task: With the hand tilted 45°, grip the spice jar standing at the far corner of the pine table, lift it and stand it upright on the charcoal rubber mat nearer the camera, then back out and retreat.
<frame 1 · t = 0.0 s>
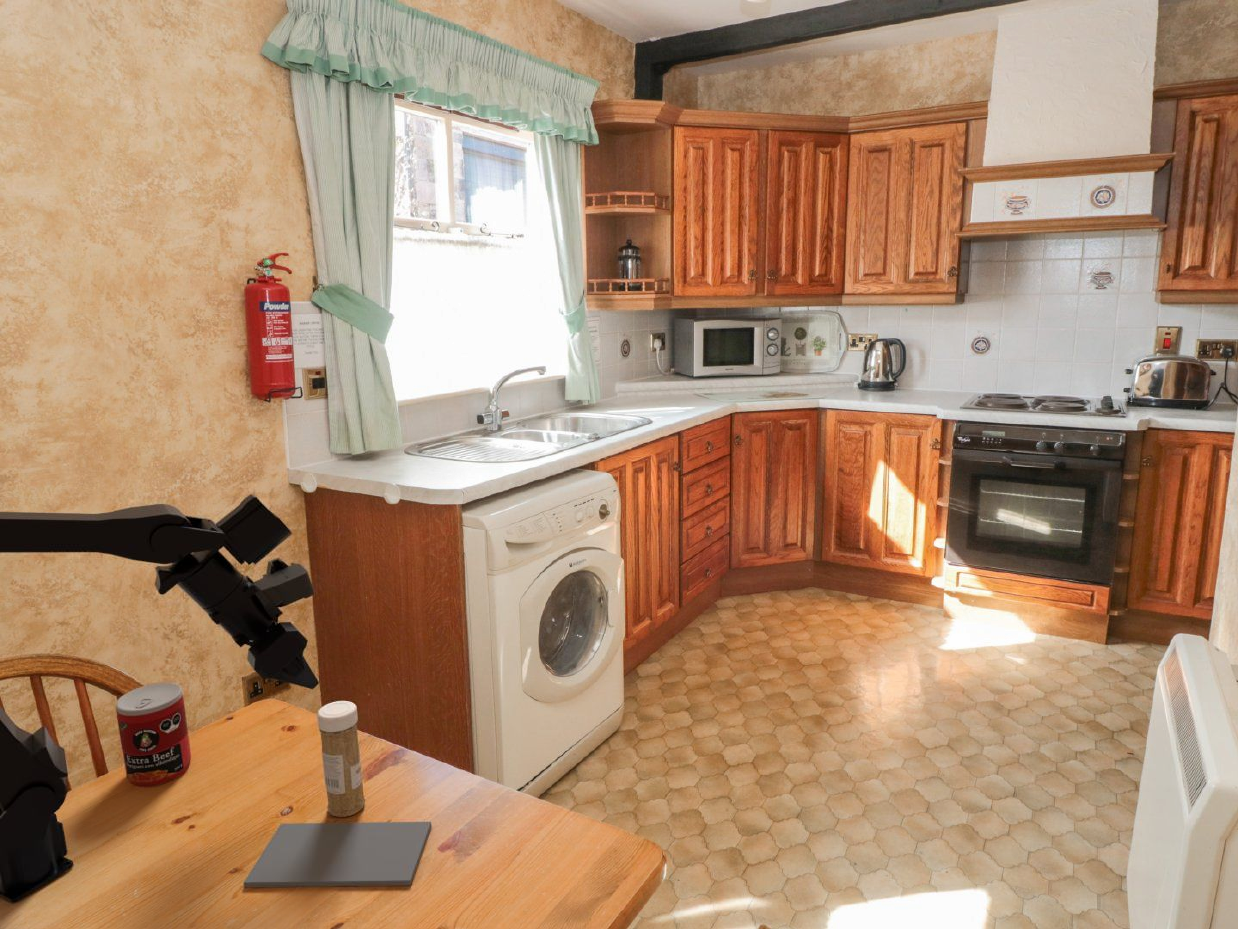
hand: (305, 672, 106), 15 cm above the table, tool tilted 35°, fingers open, 9 cm apart
canned food: (160, 772, 111), on the table
charcoal mat: (342, 855, 94), on the table
spice jar: (346, 809, 103), on the table
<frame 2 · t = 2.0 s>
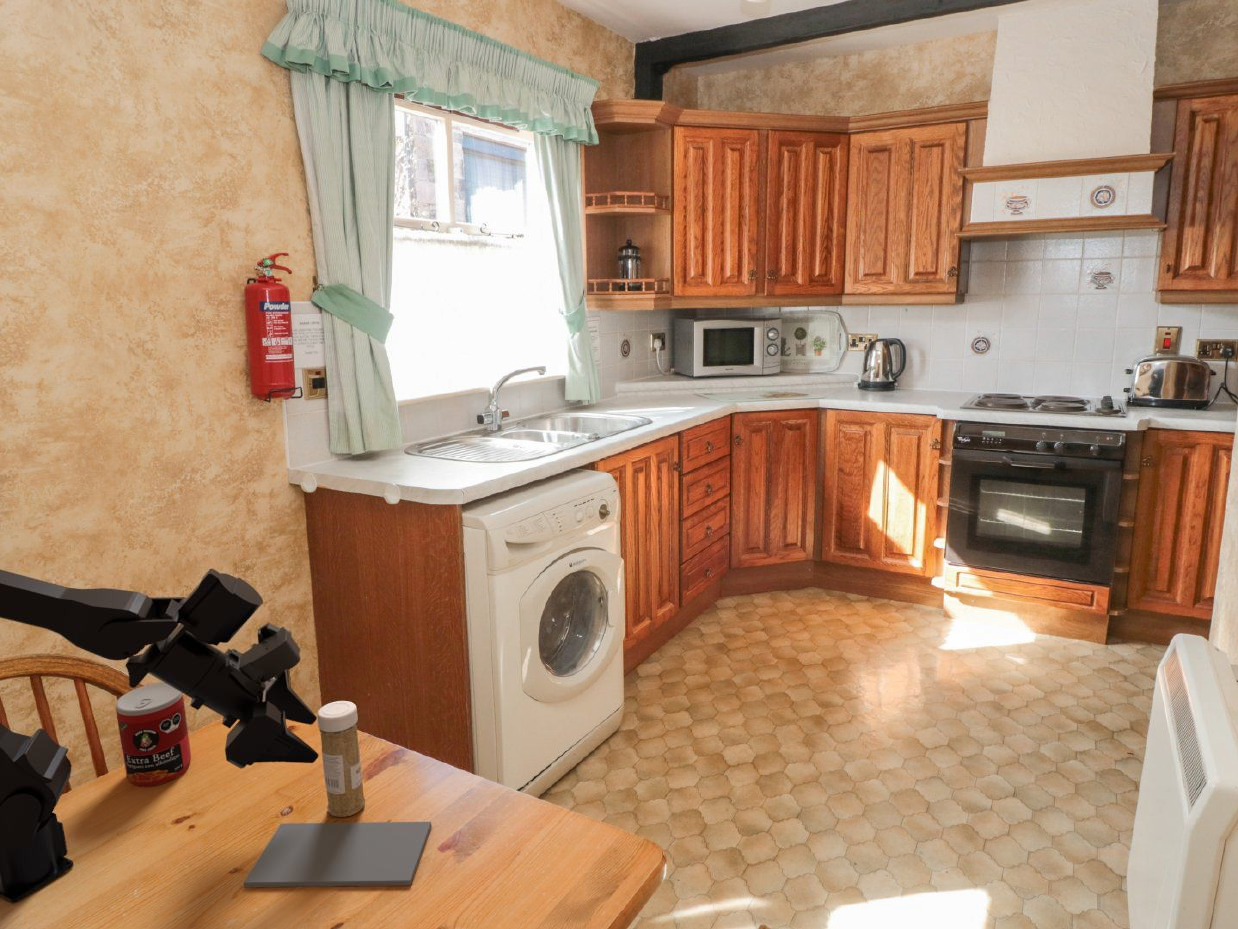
hand: (315, 739, 100), 10 cm above the table, tool tilted 45°, fingers open, 9 cm apart
nothing on the table moved.
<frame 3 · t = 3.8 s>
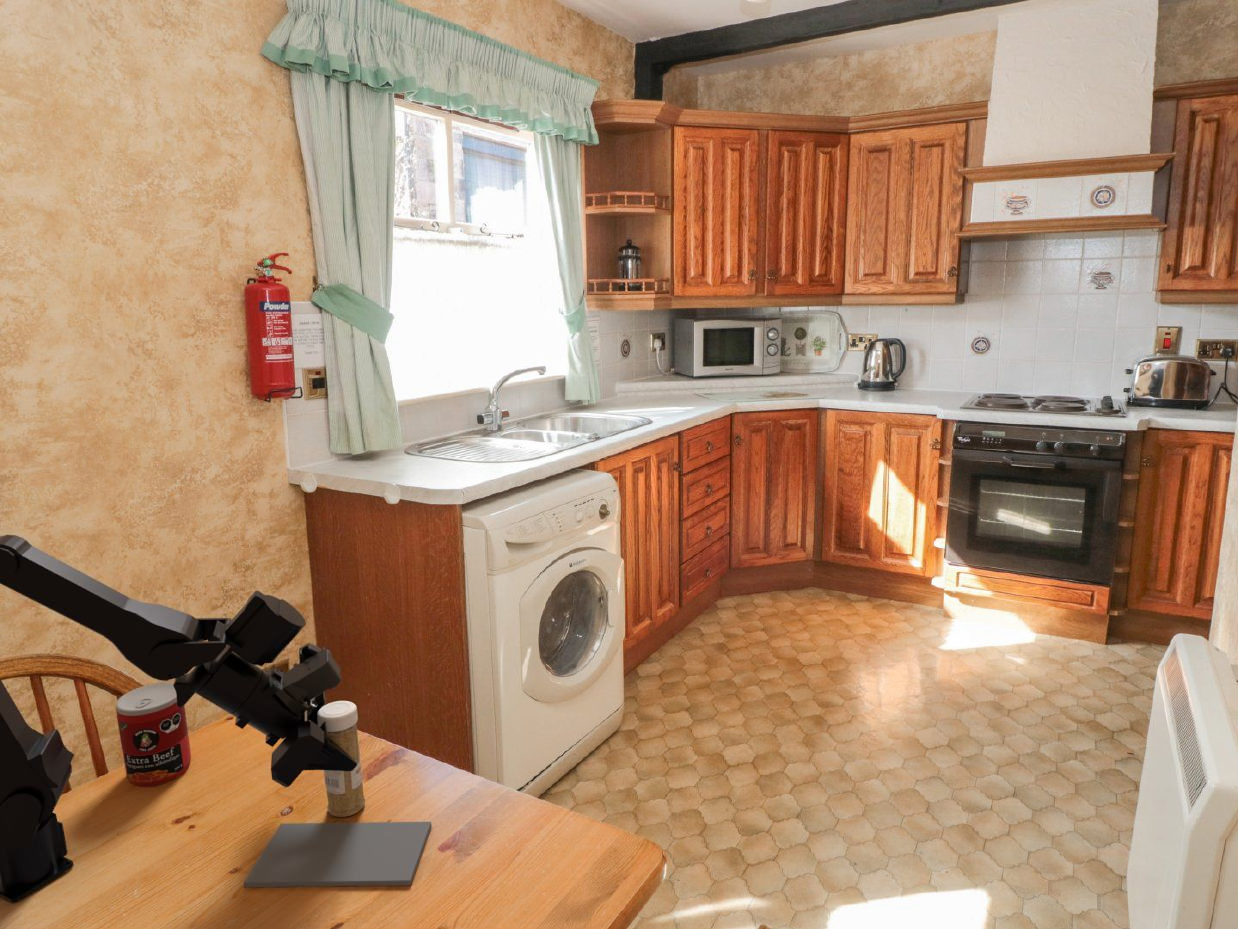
hand: (353, 757, 102), 7 cm above the table, tool tilted 45°, fingers closed on spice jar, 4 cm apart
spice jar: (346, 809, 103), on the table, touching gripper
everything else where it was.
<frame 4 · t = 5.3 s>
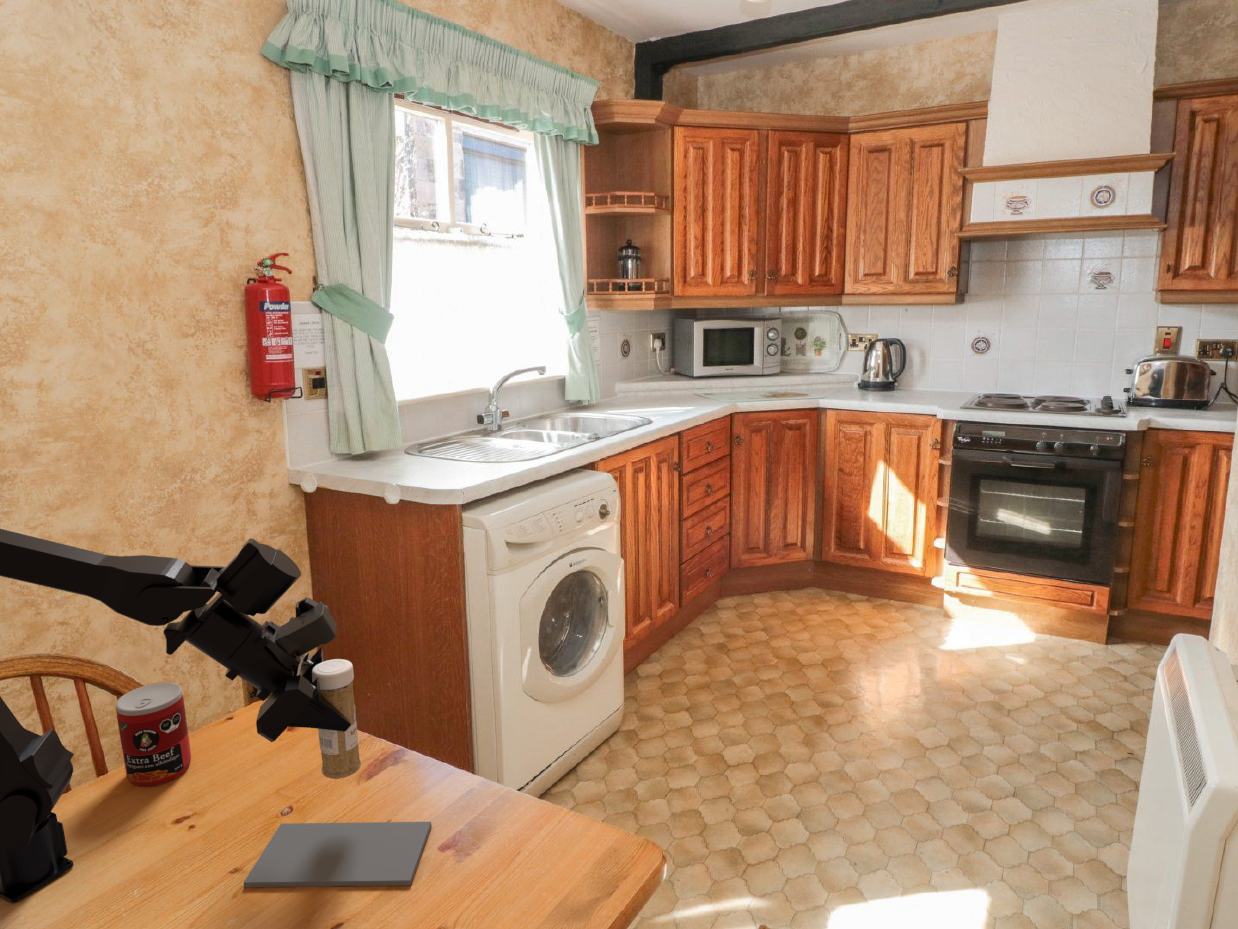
hand: (349, 718, 98), 13 cm above the table, tool tilted 45°, fingers closed on spice jar, 4 cm apart
spice jar: (341, 771, 99), point 6 cm above the table, touching gripper
everything else where it was.
when the fingers open (8 cm above the table, at t = 7.3 s): spice jar drops 1 cm, resting on charcoal mat.
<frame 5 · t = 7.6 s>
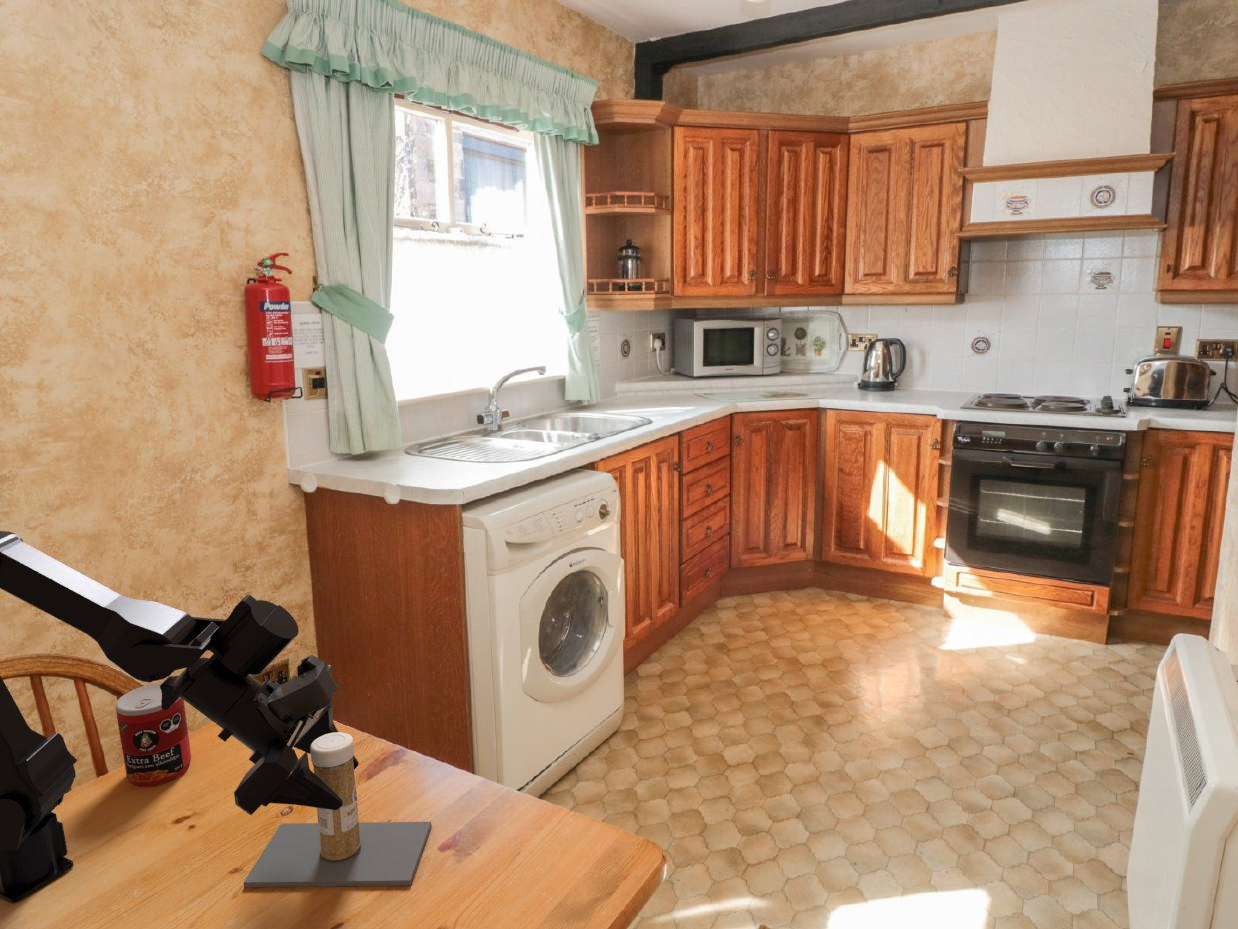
hand: (348, 786, 92), 9 cm above the table, tool tilted 45°, fingers open, 7 cm apart
spice jar: (341, 851, 94), resting on charcoal mat
everything else where it was.
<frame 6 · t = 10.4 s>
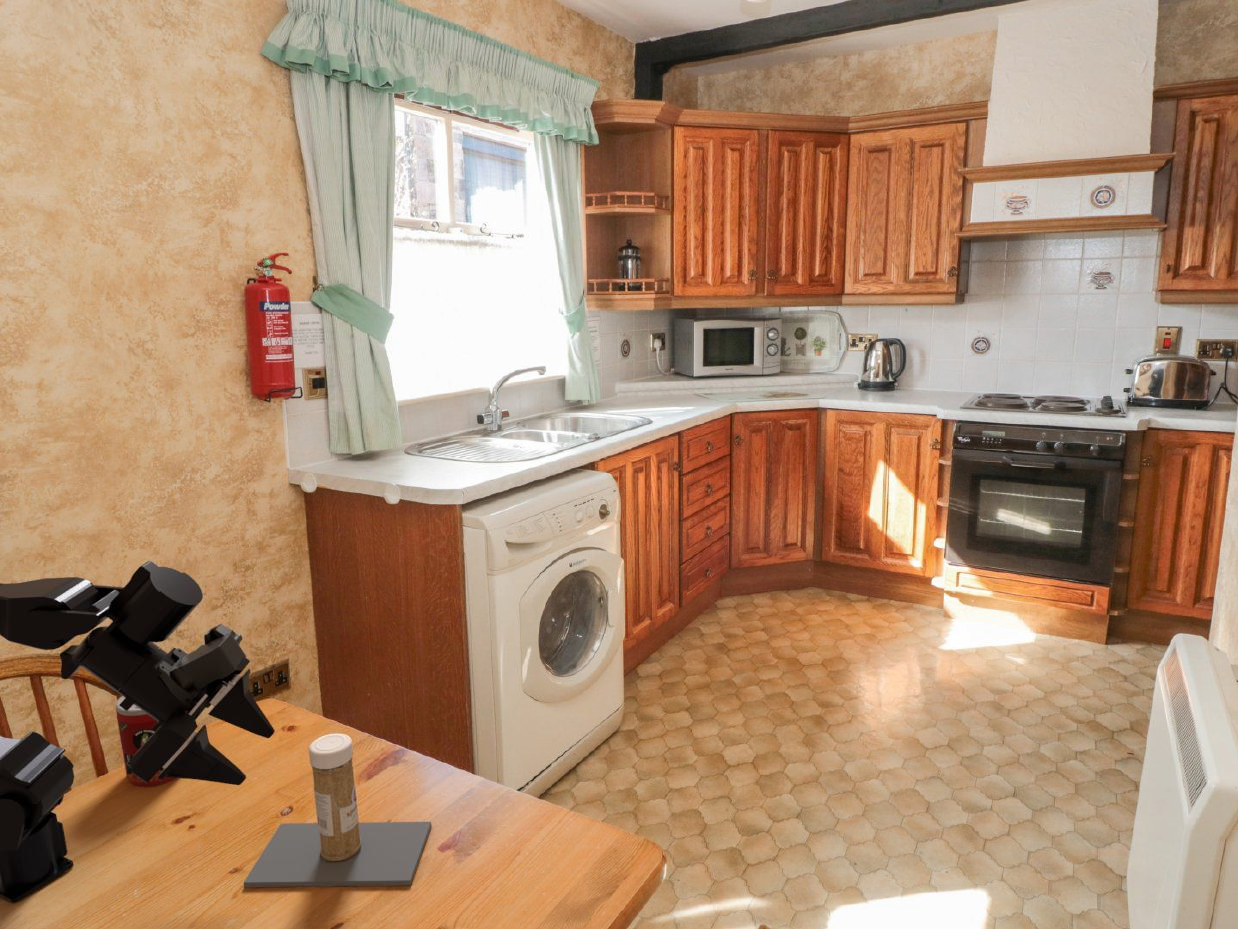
hand: (258, 757, 91), 13 cm above the table, tool tilted 45°, fingers open, 9 cm apart
nothing on the table moved.
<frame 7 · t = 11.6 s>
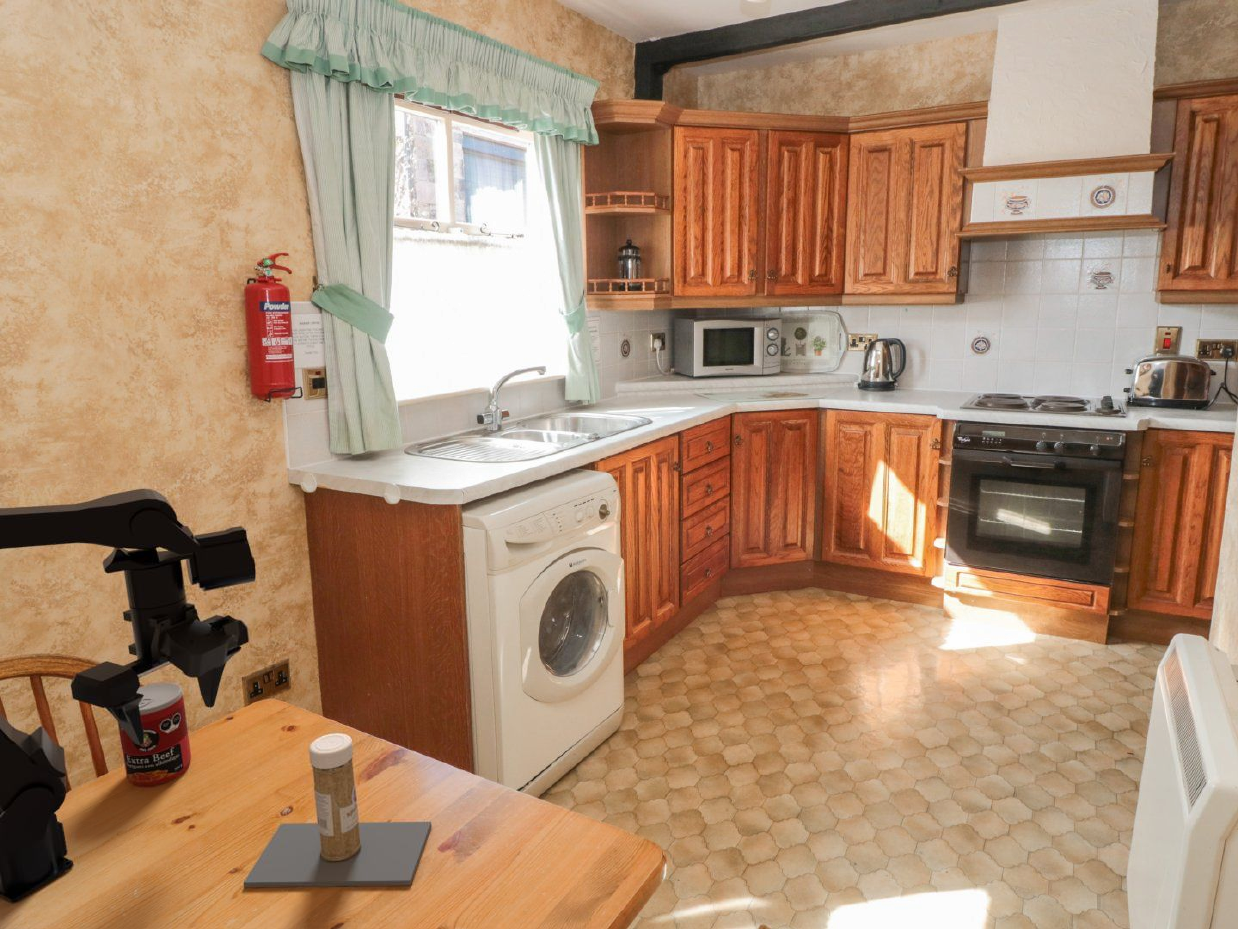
hand: (176, 724, 98), 13 cm above the table, tool pointing down, fingers open, 9 cm apart
nothing on the table moved.
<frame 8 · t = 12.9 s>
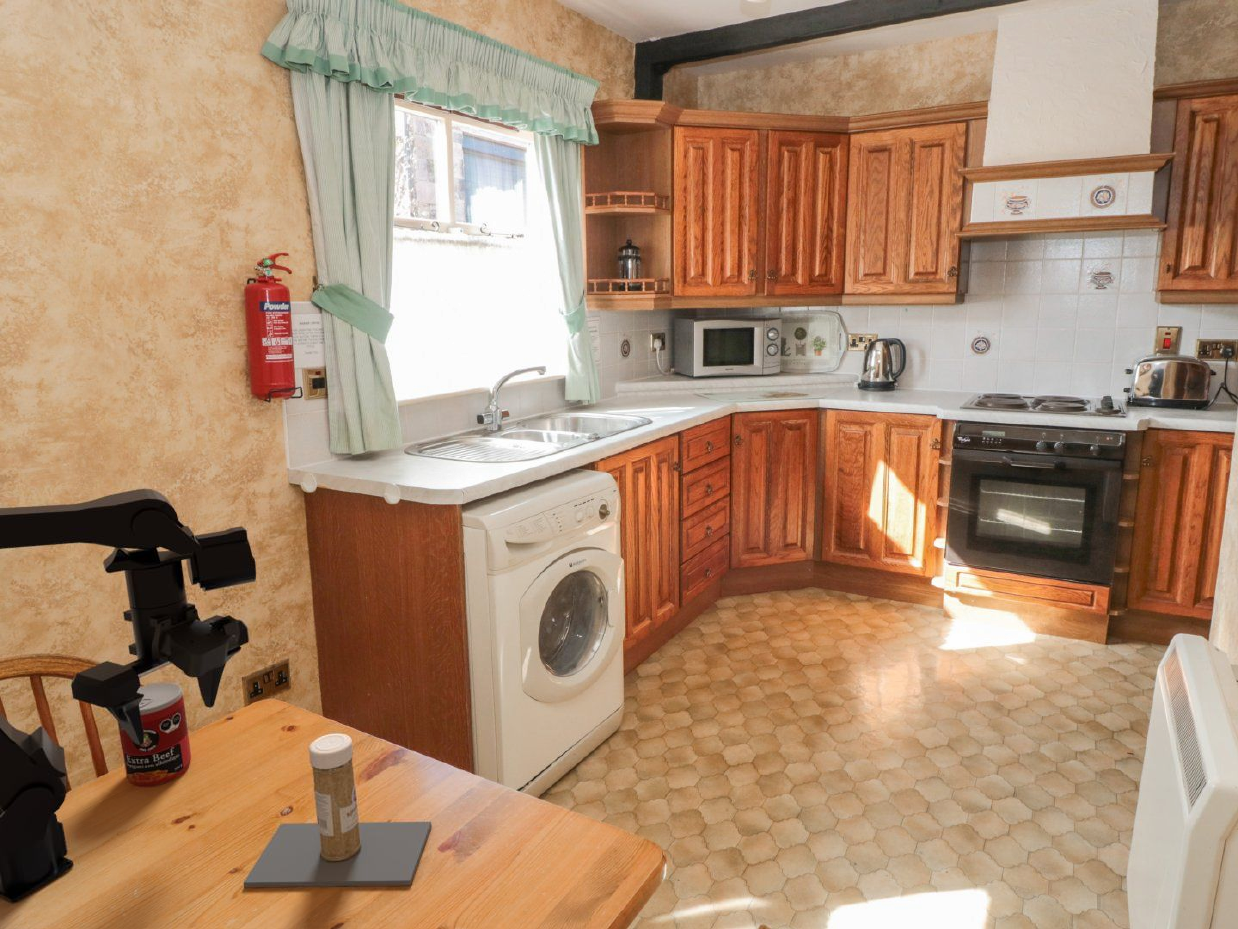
hand: (176, 724, 98), 13 cm above the table, tool pointing down, fingers open, 9 cm apart
nothing on the table moved.
at the end: spice jar inside the target area on the charcoal mat (0.2 cm from its centre), point 0.4 cm above the charcoal mat's base; spice jar tilted 0°; the gripper is holding nothing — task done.
